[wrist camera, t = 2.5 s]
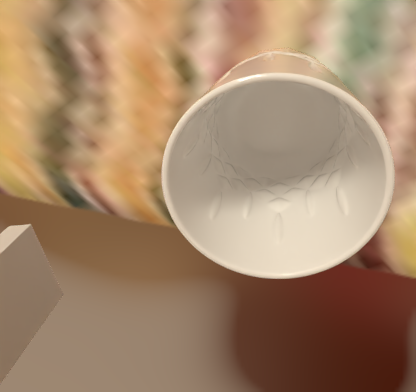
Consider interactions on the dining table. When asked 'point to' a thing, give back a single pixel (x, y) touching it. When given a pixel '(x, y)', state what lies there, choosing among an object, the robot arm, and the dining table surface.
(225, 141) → the white cup
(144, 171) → the dining table surface
